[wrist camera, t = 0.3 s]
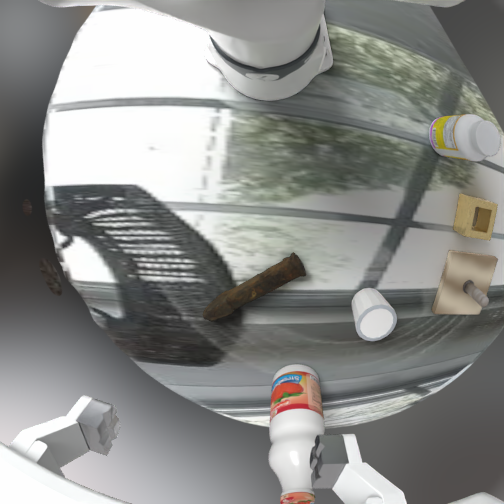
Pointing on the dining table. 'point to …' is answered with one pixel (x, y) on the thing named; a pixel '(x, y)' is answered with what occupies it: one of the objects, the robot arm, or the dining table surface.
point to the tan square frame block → (467, 215)
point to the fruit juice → (295, 430)
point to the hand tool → (255, 287)
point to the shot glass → (372, 315)
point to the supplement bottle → (464, 137)
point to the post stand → (464, 283)
